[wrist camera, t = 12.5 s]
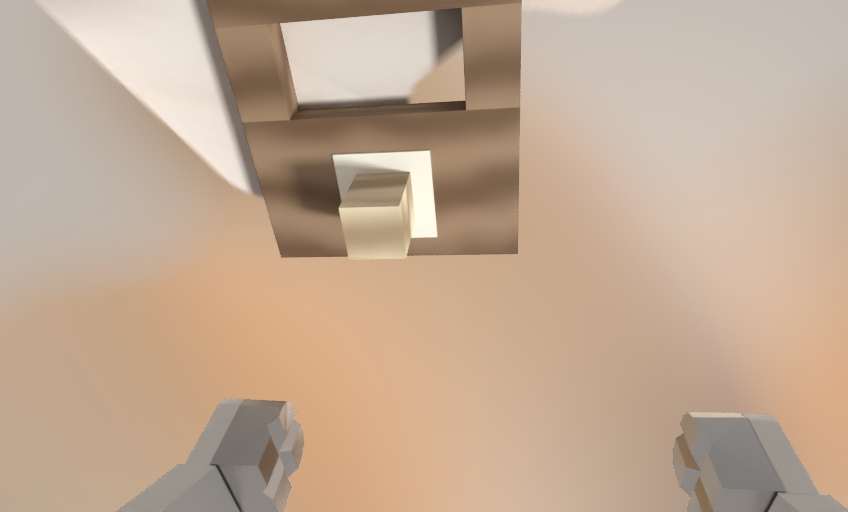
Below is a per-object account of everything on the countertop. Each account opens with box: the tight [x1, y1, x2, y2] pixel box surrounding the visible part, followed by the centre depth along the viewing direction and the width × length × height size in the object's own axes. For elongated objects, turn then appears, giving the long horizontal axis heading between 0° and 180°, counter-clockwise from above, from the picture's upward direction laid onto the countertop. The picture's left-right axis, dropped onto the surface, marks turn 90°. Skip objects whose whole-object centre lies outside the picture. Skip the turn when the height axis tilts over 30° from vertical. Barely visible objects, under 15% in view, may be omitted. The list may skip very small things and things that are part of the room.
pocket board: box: [207, 0, 522, 257], centre depth 41 cm, size 22×22×3 cm
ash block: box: [339, 172, 415, 259], centre depth 40 cm, size 4×4×6 cm
